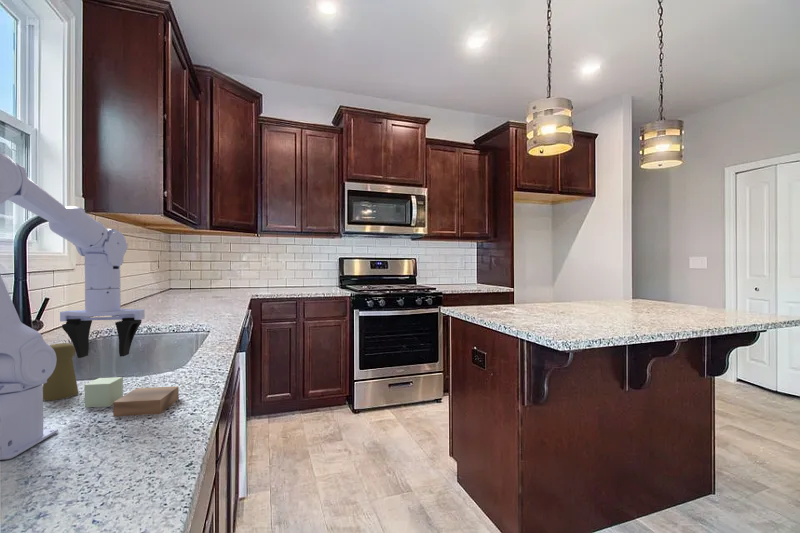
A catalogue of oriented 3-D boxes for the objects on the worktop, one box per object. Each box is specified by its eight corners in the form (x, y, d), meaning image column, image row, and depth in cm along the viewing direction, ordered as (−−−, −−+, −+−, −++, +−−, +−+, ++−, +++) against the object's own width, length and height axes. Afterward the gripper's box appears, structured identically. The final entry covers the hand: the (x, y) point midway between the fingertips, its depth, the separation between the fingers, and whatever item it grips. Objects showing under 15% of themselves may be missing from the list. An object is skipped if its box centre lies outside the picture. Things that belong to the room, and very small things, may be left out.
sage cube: (109, 406, 77) (109, 383, 77) (84, 407, 76) (84, 384, 76) (122, 398, 82) (122, 377, 81) (99, 399, 81) (98, 378, 81)
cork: (44, 402, 79) (44, 348, 79) (37, 396, 83) (36, 344, 83) (82, 394, 84) (81, 343, 84) (74, 389, 88) (73, 340, 87)
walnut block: (160, 416, 73) (160, 400, 73) (113, 418, 72) (113, 402, 72) (178, 400, 81) (178, 386, 81) (136, 402, 80) (136, 388, 80)
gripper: (151, 286, 84) (152, 350, 84) (76, 287, 82) (77, 352, 82) (133, 289, 77) (134, 358, 77) (51, 290, 75) (52, 361, 75)
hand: (103, 356), depth 79 cm, fingers open, 7 cm apart
